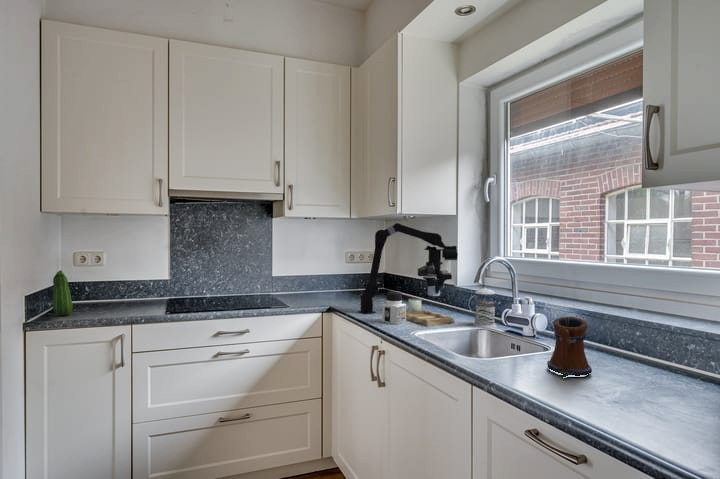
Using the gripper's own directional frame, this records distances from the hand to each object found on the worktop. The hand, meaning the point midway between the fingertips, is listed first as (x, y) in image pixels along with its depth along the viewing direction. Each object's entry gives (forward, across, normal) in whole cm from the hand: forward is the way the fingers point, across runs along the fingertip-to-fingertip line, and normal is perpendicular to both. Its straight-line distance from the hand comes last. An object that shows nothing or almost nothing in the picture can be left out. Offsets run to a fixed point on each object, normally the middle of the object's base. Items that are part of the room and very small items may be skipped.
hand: (433, 293), depth 210 cm
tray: (+10, +10, -12) cm, 19 cm away
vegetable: (+11, -68, -151) cm, 166 cm away
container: (+10, +7, -27) cm, 30 cm away
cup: (+10, -3, -9) cm, 14 cm away
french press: (+10, +28, +3) cm, 30 cm away
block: (+1, 0, 0) cm, 1 cm away
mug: (+10, +87, -23) cm, 91 cm away
